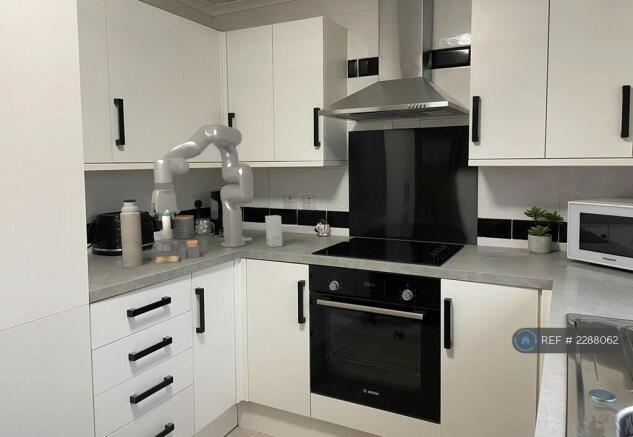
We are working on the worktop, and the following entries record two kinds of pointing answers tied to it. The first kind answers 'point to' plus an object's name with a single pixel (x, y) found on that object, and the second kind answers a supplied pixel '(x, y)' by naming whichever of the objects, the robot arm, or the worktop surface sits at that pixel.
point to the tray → (167, 259)
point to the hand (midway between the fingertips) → (165, 228)
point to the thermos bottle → (131, 234)
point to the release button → (192, 243)
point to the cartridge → (166, 225)
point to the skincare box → (273, 231)
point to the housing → (174, 250)
